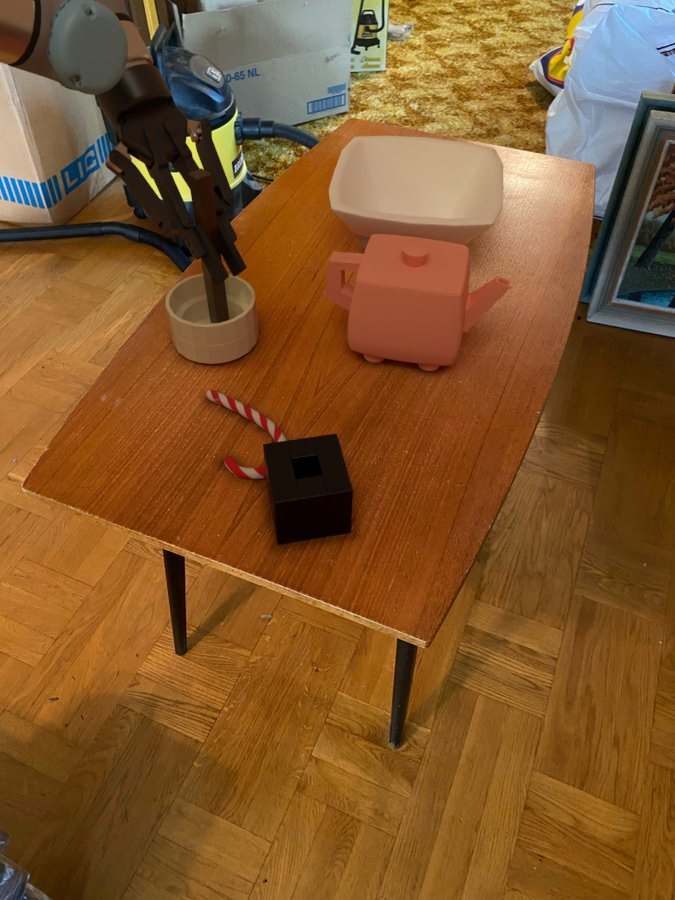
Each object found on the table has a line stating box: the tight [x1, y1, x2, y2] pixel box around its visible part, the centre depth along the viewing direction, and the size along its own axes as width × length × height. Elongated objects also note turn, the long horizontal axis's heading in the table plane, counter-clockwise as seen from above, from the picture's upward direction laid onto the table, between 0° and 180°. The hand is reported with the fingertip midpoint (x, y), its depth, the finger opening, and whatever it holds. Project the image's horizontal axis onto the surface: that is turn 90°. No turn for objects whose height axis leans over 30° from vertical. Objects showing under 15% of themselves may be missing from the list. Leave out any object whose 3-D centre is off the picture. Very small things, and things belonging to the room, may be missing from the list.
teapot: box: [325, 234, 512, 372], centre depth 88 cm, size 22×13×14 cm, turn 78°
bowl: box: [328, 134, 504, 252], centre depth 106 cm, size 24×25×10 cm
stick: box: [188, 167, 229, 324], centre depth 83 cm, size 2×2×20 cm
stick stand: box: [262, 433, 354, 546], centre depth 72 cm, size 8×8×7 cm
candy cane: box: [205, 389, 287, 480], centre depth 81 cm, size 8×1×15 cm
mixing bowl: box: [164, 272, 260, 365], centre depth 90 cm, size 11×11×6 cm
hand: (231, 276), depth 82 cm, fingers closed on stick, 2 cm apart
